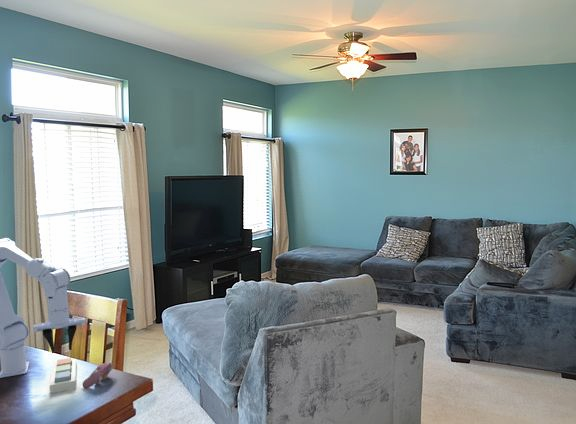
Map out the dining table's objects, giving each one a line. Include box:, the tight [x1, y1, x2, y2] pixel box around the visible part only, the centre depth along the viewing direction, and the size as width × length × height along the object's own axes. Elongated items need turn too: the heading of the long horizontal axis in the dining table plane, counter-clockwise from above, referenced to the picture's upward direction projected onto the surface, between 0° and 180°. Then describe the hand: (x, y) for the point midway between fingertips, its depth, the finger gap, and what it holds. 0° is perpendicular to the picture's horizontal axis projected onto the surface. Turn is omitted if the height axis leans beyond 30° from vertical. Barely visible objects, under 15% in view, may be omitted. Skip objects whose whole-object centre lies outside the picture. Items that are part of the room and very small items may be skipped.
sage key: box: [56, 364, 71, 373], centre depth 156 cm, size 4×4×2 cm
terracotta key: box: [56, 357, 72, 366], centre depth 161 cm, size 4×4×2 cm
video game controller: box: [82, 361, 114, 389], centre depth 153 cm, size 10×5×7 cm, turn 169°
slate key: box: [55, 371, 70, 383], centre depth 151 cm, size 4×4×2 cm
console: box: [49, 358, 78, 394], centre depth 157 cm, size 18×7×2 cm, turn 22°
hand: (61, 350), depth 156 cm, fingers open, 4 cm apart
